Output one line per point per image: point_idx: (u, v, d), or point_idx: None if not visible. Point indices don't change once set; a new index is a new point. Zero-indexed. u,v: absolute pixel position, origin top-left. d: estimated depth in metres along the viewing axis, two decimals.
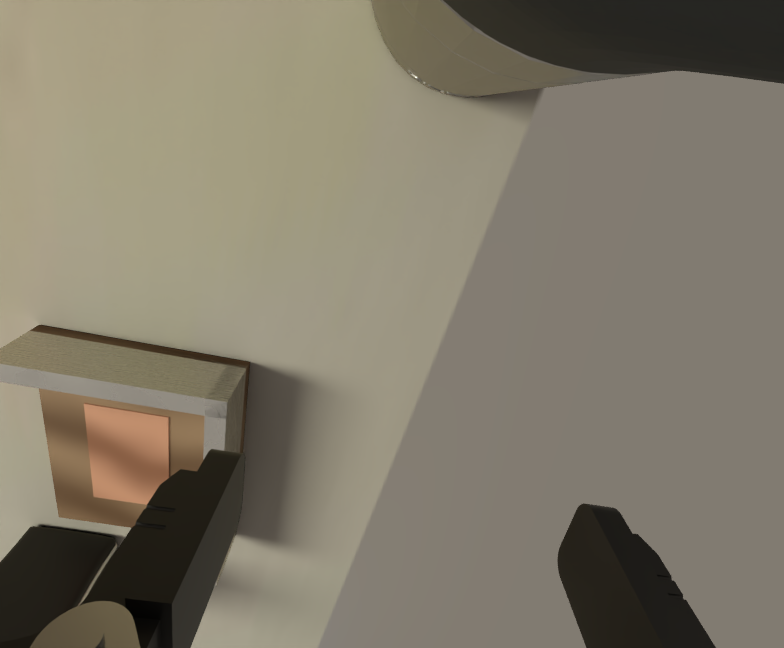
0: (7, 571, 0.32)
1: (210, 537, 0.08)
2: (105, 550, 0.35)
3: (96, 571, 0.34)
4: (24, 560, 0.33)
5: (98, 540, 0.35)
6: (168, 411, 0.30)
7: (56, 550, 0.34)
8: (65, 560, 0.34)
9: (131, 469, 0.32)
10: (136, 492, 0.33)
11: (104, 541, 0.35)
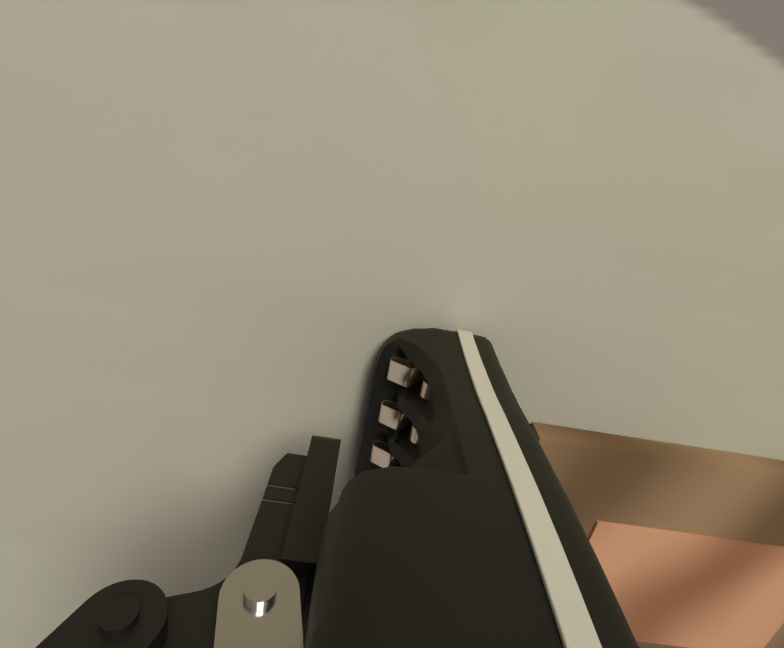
0: None
1: None
2: None
3: None
4: None
5: None
6: None
7: None
8: None
9: (656, 593, 0.16)
10: None
11: None
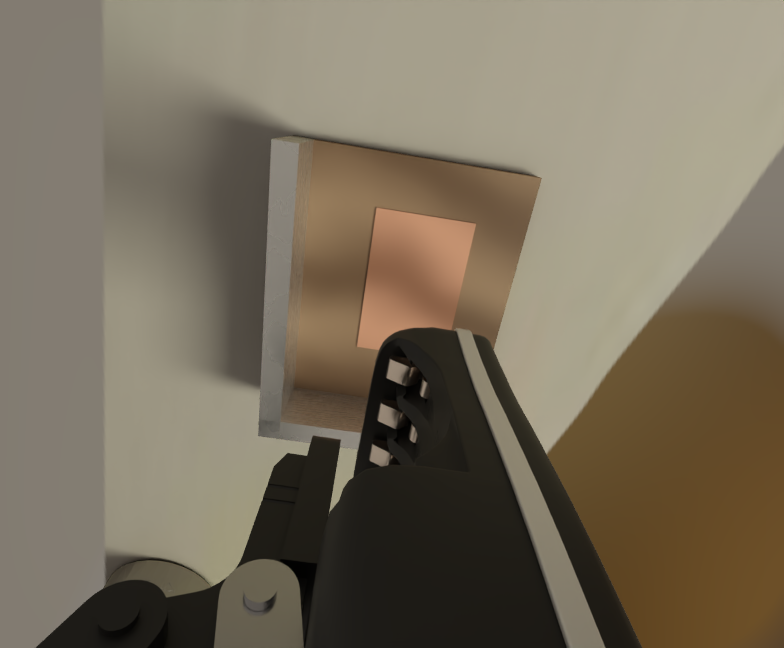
0: None
1: None
2: None
3: None
4: None
5: None
6: (356, 352, 0.28)
7: None
8: None
9: (413, 272, 0.26)
10: (415, 234, 0.25)
11: None
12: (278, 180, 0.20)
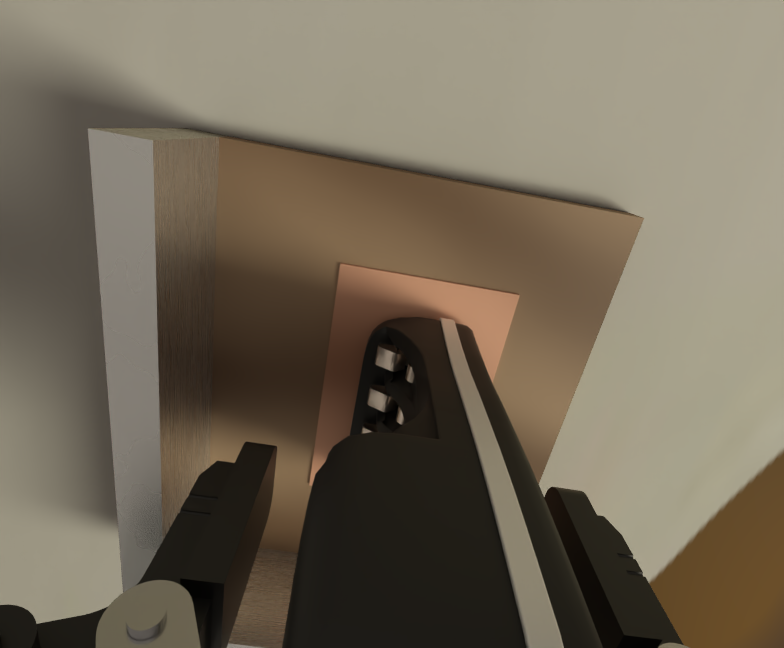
0: None
1: (251, 524, 0.09)
2: None
3: None
4: None
5: None
6: (307, 493, 0.17)
7: None
8: None
9: None
10: (410, 311, 0.14)
11: None
12: (114, 220, 0.09)
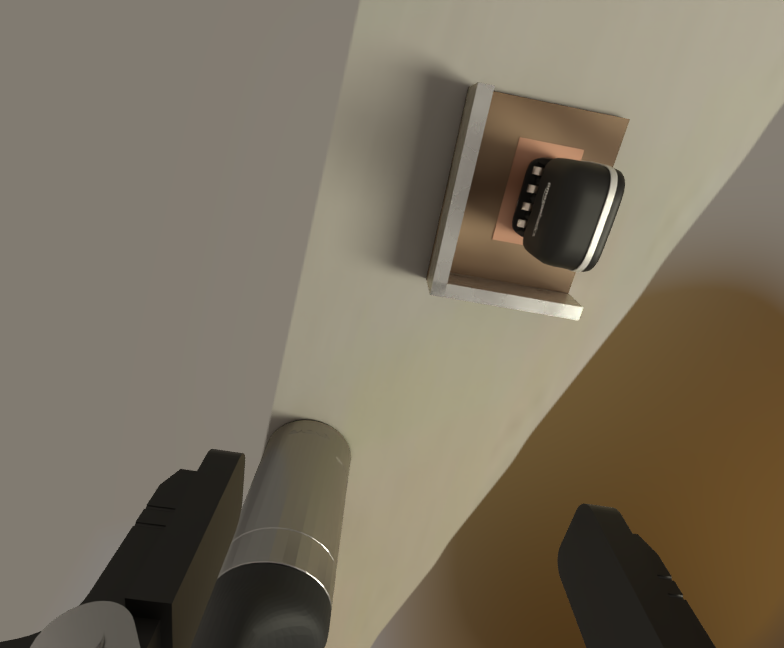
0: None
1: (210, 537, 0.08)
2: None
3: None
4: None
5: None
6: (490, 244, 0.40)
7: None
8: None
9: None
10: None
11: None
12: (477, 109, 0.32)
